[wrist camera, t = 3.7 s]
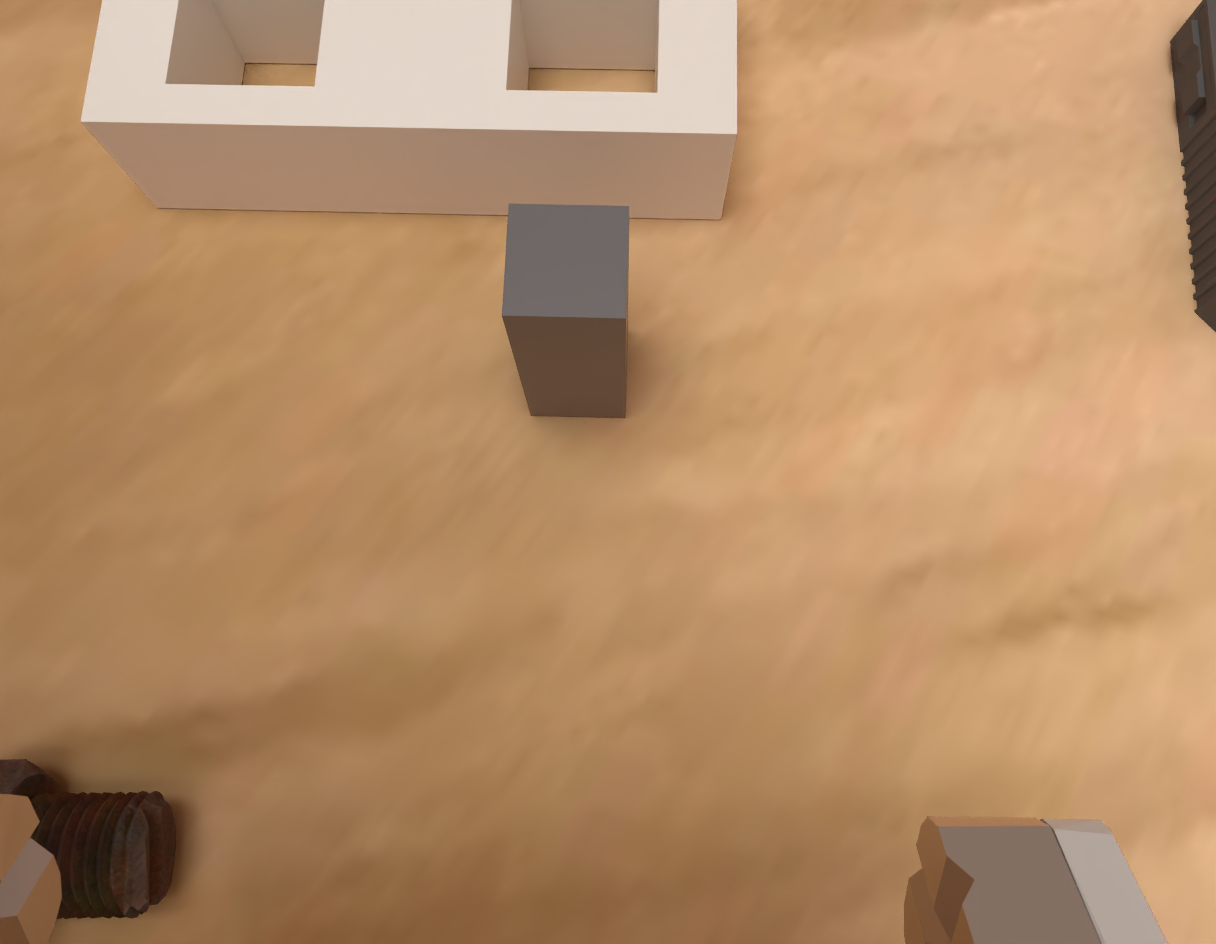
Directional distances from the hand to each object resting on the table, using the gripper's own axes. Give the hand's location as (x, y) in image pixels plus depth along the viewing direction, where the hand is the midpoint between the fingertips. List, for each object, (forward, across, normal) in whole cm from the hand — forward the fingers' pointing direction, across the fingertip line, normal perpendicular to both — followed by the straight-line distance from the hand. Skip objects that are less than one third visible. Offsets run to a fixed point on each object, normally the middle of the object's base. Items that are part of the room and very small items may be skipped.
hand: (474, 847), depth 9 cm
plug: (+24, 0, -6) cm, 24 cm away
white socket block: (+30, -5, +1) cm, 30 cm away
